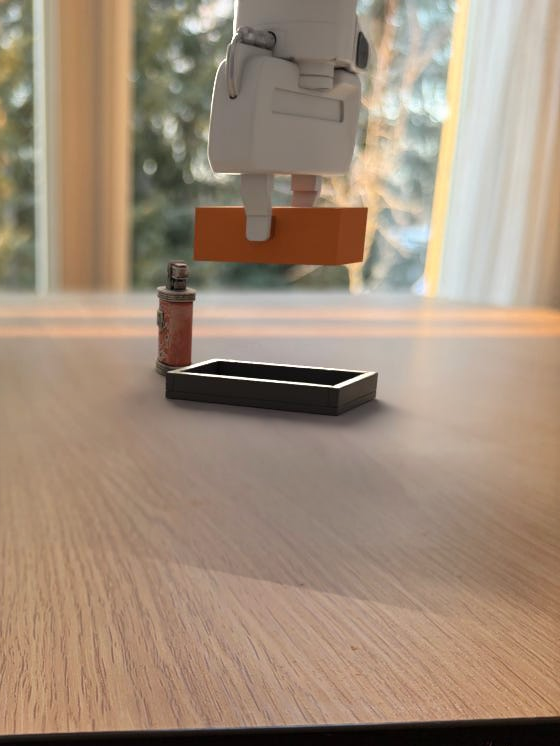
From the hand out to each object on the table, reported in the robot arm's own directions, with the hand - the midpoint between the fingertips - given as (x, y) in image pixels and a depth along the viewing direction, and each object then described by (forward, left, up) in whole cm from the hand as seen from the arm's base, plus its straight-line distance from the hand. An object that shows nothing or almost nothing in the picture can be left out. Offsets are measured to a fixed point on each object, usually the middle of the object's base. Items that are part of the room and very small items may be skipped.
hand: (279, 239), depth 83 cm
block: (0, 0, -2) cm, 2 cm away
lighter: (+14, -9, -13) cm, 21 cm away
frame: (0, 0, -12) cm, 12 cm away
